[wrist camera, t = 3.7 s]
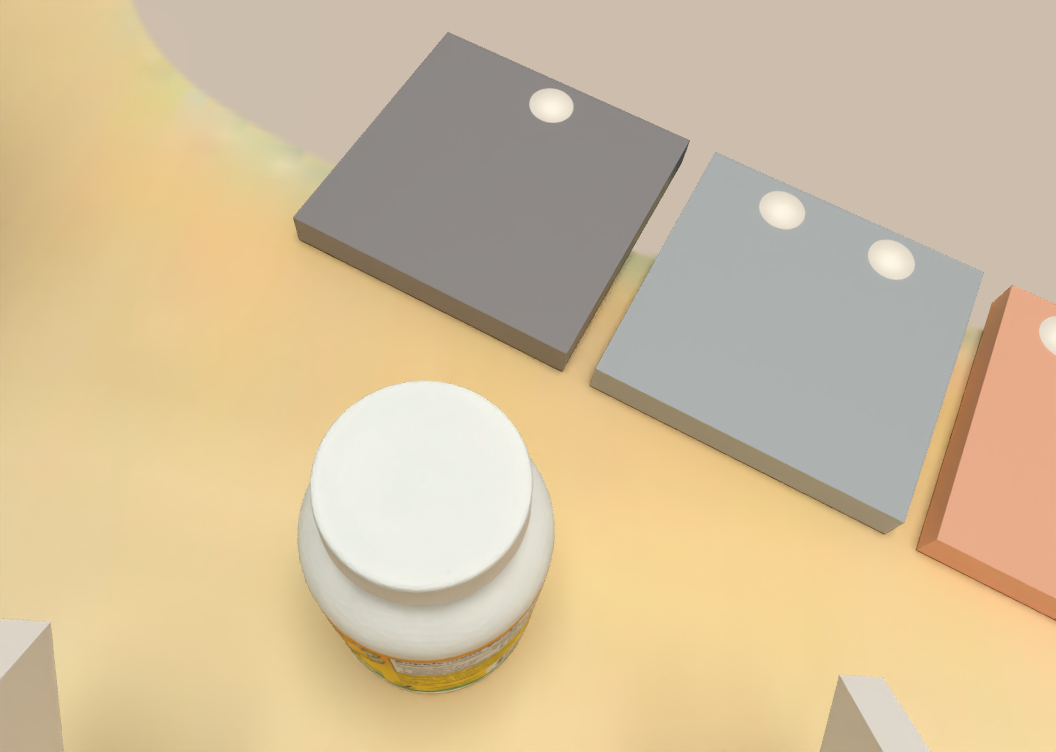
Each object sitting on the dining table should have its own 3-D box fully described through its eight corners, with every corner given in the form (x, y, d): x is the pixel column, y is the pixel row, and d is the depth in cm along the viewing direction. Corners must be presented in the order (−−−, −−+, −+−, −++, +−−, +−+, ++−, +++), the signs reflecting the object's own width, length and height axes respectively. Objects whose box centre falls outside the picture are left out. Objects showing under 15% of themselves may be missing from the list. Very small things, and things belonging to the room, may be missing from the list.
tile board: (299, 239, 28) (292, 216, 27) (448, 57, 32) (447, 30, 31) (1250, 718, 24) (1290, 714, 23) (1279, 433, 28) (1313, 418, 27)
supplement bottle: (547, 673, 23) (603, 605, 14) (347, 714, 22) (279, 667, 13) (510, 487, 25) (540, 330, 16) (328, 517, 24) (259, 368, 16)
